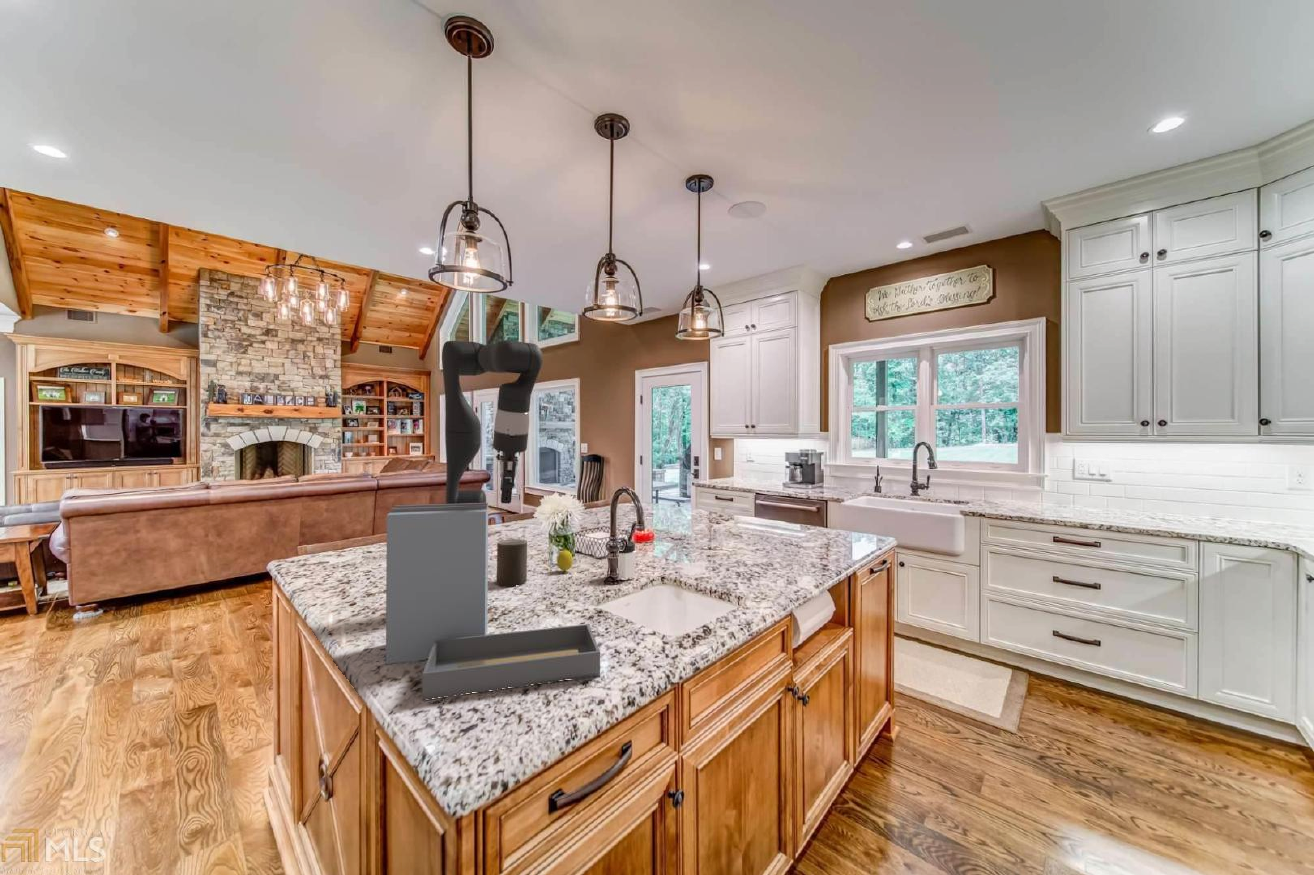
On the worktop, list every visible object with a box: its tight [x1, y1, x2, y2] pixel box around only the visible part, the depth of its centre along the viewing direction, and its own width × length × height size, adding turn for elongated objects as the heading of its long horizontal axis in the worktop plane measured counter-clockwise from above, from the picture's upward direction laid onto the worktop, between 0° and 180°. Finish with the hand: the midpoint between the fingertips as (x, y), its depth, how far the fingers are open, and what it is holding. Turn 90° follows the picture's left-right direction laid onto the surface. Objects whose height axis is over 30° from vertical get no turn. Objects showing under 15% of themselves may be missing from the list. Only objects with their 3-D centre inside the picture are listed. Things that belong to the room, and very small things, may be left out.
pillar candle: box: [495, 538, 528, 588], centre depth 161 cm, size 10×10×15 cm
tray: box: [421, 623, 601, 701], centre depth 101 cm, size 33×15×5 cm, turn 107°
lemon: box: [556, 549, 574, 572], centre depth 174 cm, size 6×6×8 cm
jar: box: [618, 540, 636, 578], centre depth 168 cm, size 9×8×12 cm
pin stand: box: [385, 502, 489, 665], centre depth 112 cm, size 20×12×33 cm, turn 107°
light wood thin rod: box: [457, 649, 579, 668], centre depth 100 cm, size 24×2×2 cm
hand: (505, 496), depth 113 cm, fingers open, 8 cm apart
